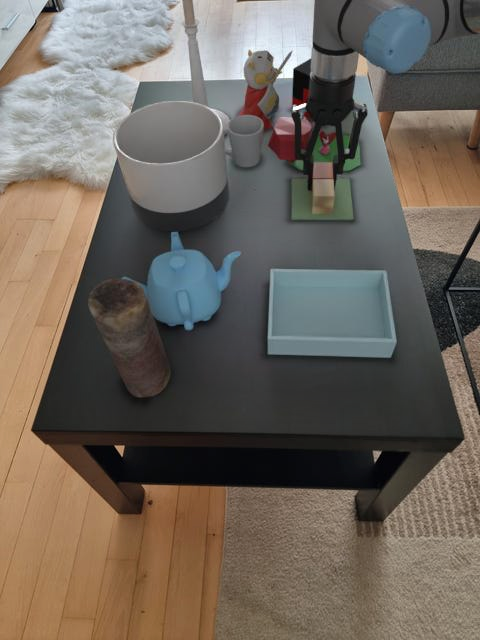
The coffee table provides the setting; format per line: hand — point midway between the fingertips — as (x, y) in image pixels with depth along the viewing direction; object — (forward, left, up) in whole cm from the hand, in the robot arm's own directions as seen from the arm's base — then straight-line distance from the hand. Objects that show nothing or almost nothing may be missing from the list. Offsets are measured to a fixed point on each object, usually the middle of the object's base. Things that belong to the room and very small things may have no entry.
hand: (321, 185), depth 98 cm
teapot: (+24, +30, -1) cm, 38 cm away
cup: (+17, -10, -1) cm, 20 cm away
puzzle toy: (-1, -30, -1) cm, 30 cm away
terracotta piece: (0, 0, -1) cm, 1 cm away
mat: (0, +3, -1) cm, 3 cm away
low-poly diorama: (+1, -12, -1) cm, 12 cm away
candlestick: (+27, -23, -1) cm, 36 cm away
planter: (+28, +6, -1) cm, 29 cm away
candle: (+28, +45, -1) cm, 53 cm away
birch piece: (0, +5, -1) cm, 5 cm away
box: (0, +33, -1) cm, 33 cm away
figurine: (+13, -27, -1) cm, 30 cm away
